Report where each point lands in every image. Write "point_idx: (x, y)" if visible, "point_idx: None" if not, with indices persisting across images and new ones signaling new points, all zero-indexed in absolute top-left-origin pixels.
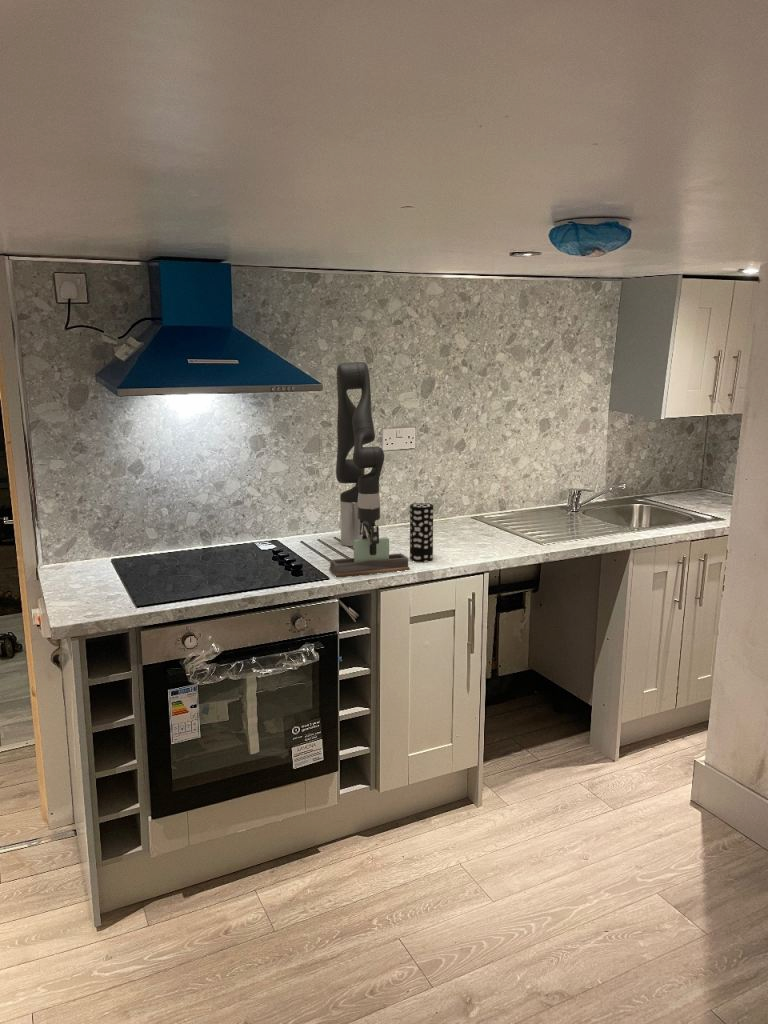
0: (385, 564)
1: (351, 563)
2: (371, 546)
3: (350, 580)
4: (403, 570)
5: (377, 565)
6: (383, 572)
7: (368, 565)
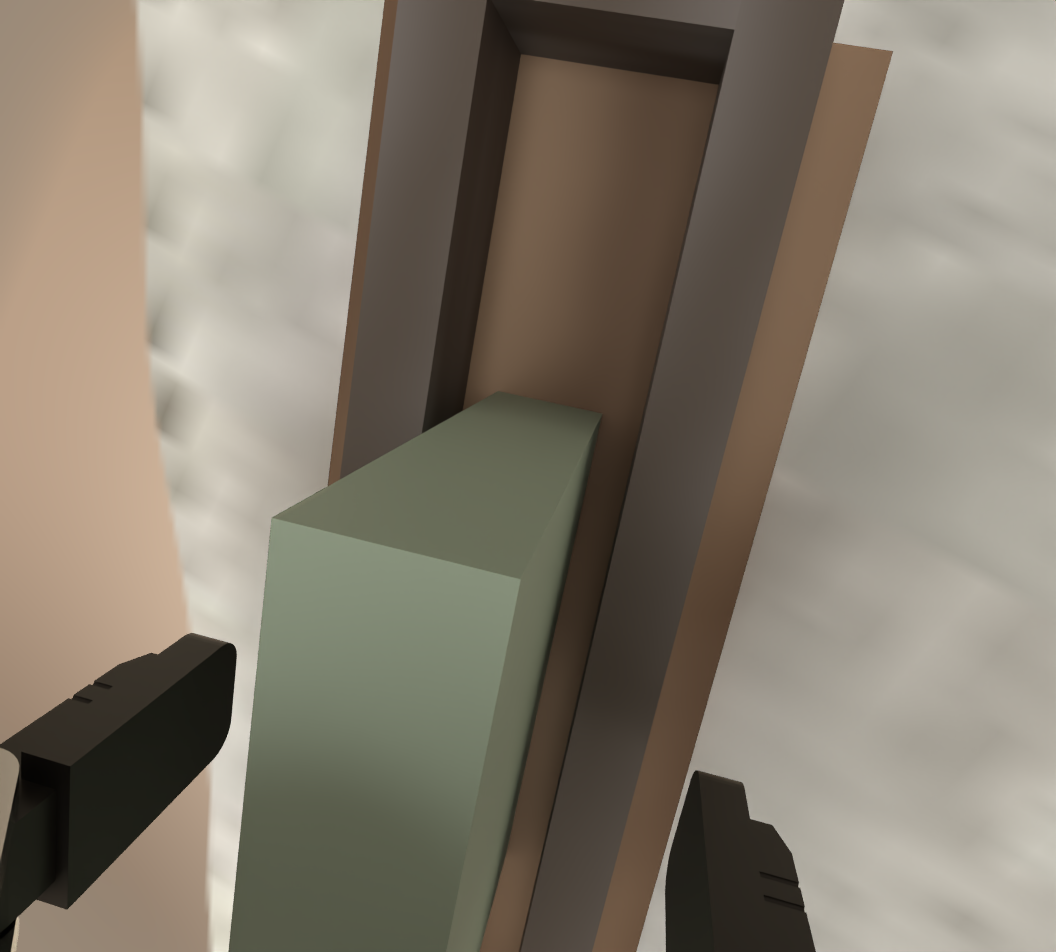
0: None
1: (379, 273)
2: (40, 747)
3: (222, 143)
4: None
5: None
6: None
7: None
